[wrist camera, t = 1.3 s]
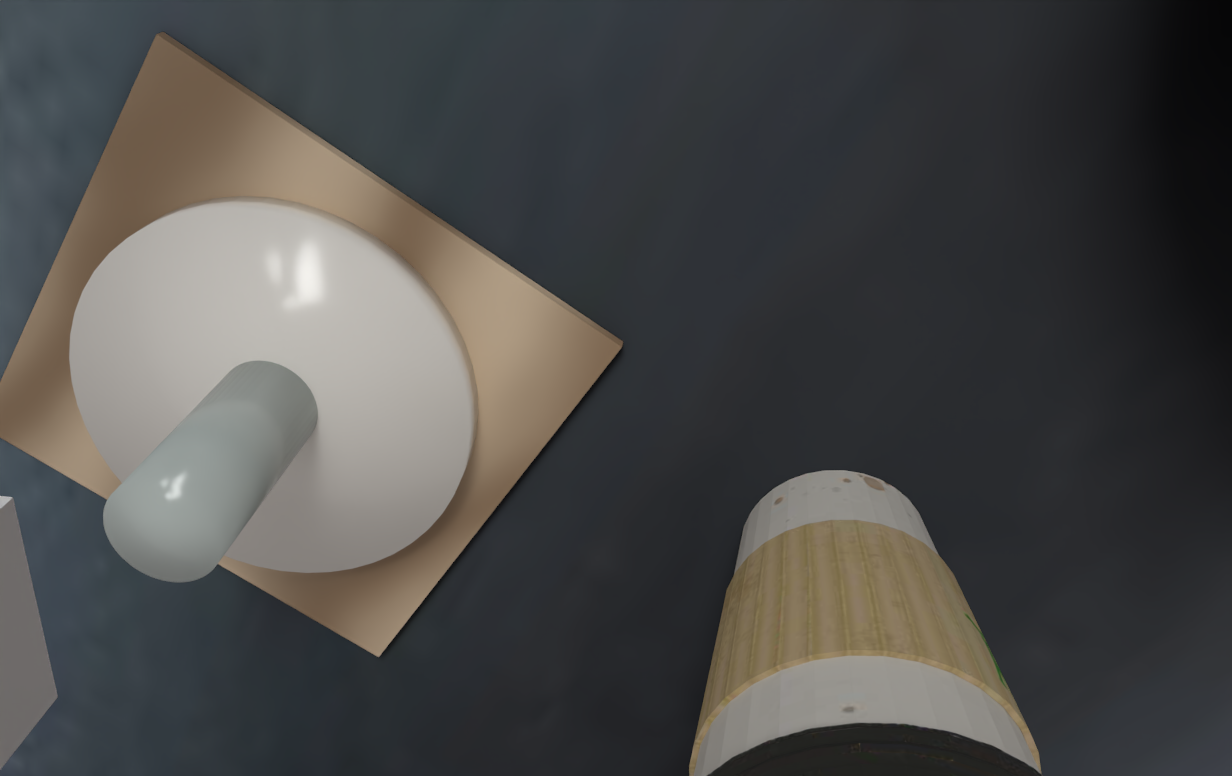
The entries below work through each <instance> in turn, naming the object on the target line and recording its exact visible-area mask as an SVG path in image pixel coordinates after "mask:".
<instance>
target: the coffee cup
mask: <svg viewBox="0 0 1232 776" xmlns="http://www.w3.org/2000/svg"><path fill="white" fill-rule="evenodd" d="M689 773H690V776H1043V775H1042V774H1041V767H1040V760H1039V753H1038V750H1037V747H1036V745H1035V743H1034V741H1033V738H1032V736H1031V734H1030V731H1029V729H1028V727H1027V725H1026V723H1025V721H1024V719H1023V717H1022V715H1021V713H1020V710H1019V708H1018V706H1017V704H1016V702H1015V700H1014V698H1013V696H1012V694H1011V692H1010V690H1009V688H1008V686H1007V684H1006V682H1005V680H1004V678H1003V675H1002V673H1001V671H1000V669H999V667H998V665H997V663H996V661H995V659H994V657H993V655H992V653H991V651H990V649H989V647H988V645H987V643H986V640H985V638H984V636H983V634H982V632H981V630H980V628H979V626H978V624H977V622H976V620H975V618H974V616H973V614H972V612H971V610H970V608H969V606H968V603H967V601H966V599H965V597H964V595H963V593H962V591H961V589H960V587H959V585H958V583H957V581H956V579H955V577H954V575H953V573H952V572H951V570H950V569H949V568H948V566H947V565H946V564H945V562H944V561H943V560H942V558H941V557H940V556H939V555H938V553H937V551H936V549H935V547H934V545H933V542H932V540H931V538H930V536H929V534H928V532H927V530H926V527H925V525H924V523H923V521H922V519H921V517H920V515H919V513H918V511H917V510H916V508H915V507H914V506H913V504H912V503H911V502H910V501H909V499H908V498H907V497H905V496H904V495H903V494H902V493H901V492H900V491H898V490H897V489H896V488H895V487H893V486H891V485H889V484H887V483H886V482H884V481H882V480H880V479H878V478H875V477H872V476H869V475H866V474H863V473H857V472H851V471H845V470H825V471H819V472H813V473H808V474H804V475H801V476H798V477H796V478H793V479H790V480H788V481H786V482H784V483H783V484H781V485H779V486H777V487H776V488H774V489H773V490H771V491H770V492H769V493H768V494H767V495H765V496H764V497H763V498H762V499H761V500H760V501H759V502H758V504H757V505H756V506H755V507H754V509H753V510H752V511H751V513H750V515H749V517H748V519H747V521H746V523H745V525H744V528H743V533H742V538H741V542H740V547H739V552H738V557H737V562H736V567H735V572H734V576H733V578H732V580H731V582H730V584H729V586H728V588H727V592H726V596H725V601H724V606H723V610H722V615H721V620H720V624H719V629H718V634H717V638H716V643H715V648H714V652H713V657H712V662H711V667H710V671H709V676H708V681H707V685H706V690H705V695H704V699H703V704H702V709H701V713H700V718H699V723H698V728H697V732H696V737H695V742H694V746H693V751H692V756H691V760H690V765H689Z"/></svg>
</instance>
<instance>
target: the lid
mask: <svg viewBox="0 0 1232 776" xmlns="http://www.w3.org/2000/svg"><path fill="white" fill-rule="evenodd" d="M69 361H70V371H71V380H72V385H73V389H74V393H75V397H76V402H77V405H78V408H79V411H80V413H81V416H82V419H83V421H84V424H85V426H86V429H87V431H88V433H89V434H90V436H91V438H92V440H93V442H94V444H95V446H96V448H97V450H98V451H99V453H100V454H101V456H102V457H103V459H104V460H105V462H106V463H107V465H108V466H109V468H110V469H111V471H112V472H113V473H114V474H115V475H116V477H117V478H118V479H119V480H120V481H121V483H122V484H121V485H120V486H119V487H118V488H117V489H116V490H115V491H114V492H113V493H112V494H111V495H110V497H109V498H108V500H107V502H106V504H105V507H104V511H103V523H104V528H105V532H106V534H107V537H108V539H109V541H110V543H111V545H112V546H113V547H114V549H115V550H116V552H117V553H118V554H119V555H120V556H121V557H122V558H123V559H124V560H125V561H126V562H127V563H129V564H130V565H131V566H132V567H134V568H135V569H137V570H139V571H140V572H142V573H144V574H146V575H148V576H151V577H153V578H156V579H160V580H163V581H169V582H188V581H193V580H197V579H199V578H202V577H204V576H205V575H207V574H209V573H210V572H211V571H212V570H213V569H214V568H215V567H216V565H217V564H218V563H219V561H220V560H221V559H222V557H223V556H227V557H229V558H231V559H234V560H237V561H241V562H244V563H247V564H251V565H254V566H258V567H263V568H268V569H274V570H279V571H287V572H300V573H320V572H334V571H341V570H347V569H353V568H357V567H360V566H364V565H367V564H371V563H374V562H377V561H379V560H381V559H384V558H386V557H388V556H391V555H393V554H395V553H396V552H398V551H400V550H401V549H403V548H405V547H406V546H408V545H410V544H411V543H413V542H414V541H415V540H416V539H418V538H419V537H420V536H421V535H422V534H424V533H425V532H426V531H427V530H428V529H429V528H430V527H431V526H432V525H433V524H434V523H435V521H436V520H437V519H438V518H439V517H440V516H441V515H442V514H443V512H444V510H445V509H446V507H447V506H448V504H449V503H450V501H451V499H452V498H453V496H454V494H455V492H456V490H457V488H458V485H459V483H460V481H461V479H462V476H463V474H464V472H465V469H466V467H467V465H468V463H469V460H470V458H471V455H472V451H473V447H474V443H475V439H476V435H477V425H478V415H479V409H478V390H477V384H476V379H475V374H474V369H473V365H472V362H471V359H470V356H469V353H468V350H467V347H466V344H465V341H464V339H463V337H462V335H461V333H460V331H459V329H458V327H457V325H456V323H455V321H454V319H453V317H452V316H451V314H450V313H449V311H448V309H447V308H446V306H445V305H444V303H443V302H442V300H441V299H440V297H439V296H438V294H437V293H436V292H435V291H434V290H433V289H432V287H431V286H430V285H429V284H428V283H427V281H426V280H425V279H424V278H423V277H422V275H421V274H420V273H419V272H418V271H417V270H416V269H415V268H413V267H412V266H411V265H410V264H409V263H408V262H407V261H406V260H405V259H404V258H403V257H402V256H401V255H400V254H398V253H397V252H396V251H394V250H393V249H392V248H390V247H389V246H388V245H386V244H385V243H384V242H382V241H381V240H380V239H378V238H377V237H376V236H374V235H372V234H370V233H369V232H367V231H365V230H364V229H362V228H360V227H358V226H357V225H355V224H353V223H352V222H350V221H347V220H345V219H343V218H340V217H338V216H336V215H334V214H331V213H329V212H327V211H324V210H321V209H318V208H315V207H311V206H308V205H305V204H302V203H298V202H294V201H288V200H283V199H277V198H271V197H256V196H234V197H222V198H213V199H209V200H205V201H201V202H196V203H192V204H189V205H186V206H184V207H181V208H179V209H176V210H174V211H171V212H169V213H166V214H165V215H163V216H161V217H160V218H158V219H156V220H155V221H153V222H151V223H150V224H148V225H146V226H145V227H143V228H142V229H140V230H139V231H137V232H136V233H134V234H132V235H131V236H129V237H128V238H126V239H125V240H124V241H123V242H122V243H121V244H119V245H118V246H117V247H116V248H115V249H114V250H112V251H111V252H110V253H109V254H108V255H107V256H106V257H105V259H104V260H103V261H102V262H101V263H100V265H99V266H98V267H97V268H96V269H95V271H94V272H93V274H92V276H91V277H90V279H89V281H88V282H87V284H86V286H85V288H84V289H83V291H82V294H81V296H80V299H79V302H78V304H77V307H76V310H75V313H74V318H73V323H72V328H71V333H70V350H69Z"/></svg>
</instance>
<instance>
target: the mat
mask: <svg viewBox="0 0 1232 776" xmlns="http://www.w3.org/2000/svg"><path fill="white" fill-rule="evenodd" d="M234 196H256V197H271V198H277V199H283V200H288V201H294V202H298V203H302V204H305V205H308V206H311V207H315V208H318V209H321V210H324V211H327V212H329V213H331V214H334V215H336V216H338V217H340V218H343V219H345V220H347V221H350V222H352V223H353V224H355V225H357V226H358V227H360V228H362V229H364V230H365V231H367V232H369V233H370V234H372V235H374V236H376V237H377V238H378V239H380V240H381V241H382V242H384V243H385V244H386V245H388V246H389V247H390V248H392V249H393V250H394V251H396V252H397V253H398V254H400V255H401V256H402V257H403V258H404V259H405V260H406V261H407V262H408V263H409V264H410V265H411V266H412V267H413V268H415V269H416V270H417V271H418V272H419V273H420V274H421V275H422V277H423V278H424V279H425V280H426V281H427V283H428V284H429V285H430V286H431V287H432V289H433V290H434V291H435V292H436V293H437V294H438V296H439V297H440V299H441V300H442V302H443V303H444V305H445V306H446V308H447V309H448V311H449V313H450V314H451V316H452V317H453V319H454V321H455V323H456V325H457V327H458V329H459V331H460V333H461V335H462V337H463V339H464V341H465V344H466V347H467V350H468V353H469V356H470V359H471V362H472V365H473V369H474V374H475V379H476V384H477V390H478V409H479V415H478V425H477V435H476V439H475V443H474V447H473V451H472V455H471V458H470V460H469V463H468V465H467V467H466V469H465V472H464V474H463V476H462V479H461V481H460V483H459V485H458V488H457V490H456V492H455V494H454V496H453V498H452V499H451V501H450V503H449V504H448V506H447V507H446V509H445V510H444V512H443V514H442V515H441V516H440V517H439V518H438V519H437V520H436V521H435V523H434V524H433V525H432V526H431V527H430V528H429V529H428V530H427V531H426V532H425V533H424V534H422V535H421V536H420V537H419V538H418V539H416V540H415V541H414V542H413V543H411V544H410V545H408V546H406V547H405V548H403V549H401V550H400V551H398V552H396V553H395V554H393V555H391V556H388V557H386V558H384V559H381V560H379V561H377V562H374V563H371V564H367V565H364V566H360V567H357V568H353V569H347V570H341V571H334V572H320V573H300V572H287V571H279V570H274V569H268V568H263V567H258V566H254V565H251V564H247V563H244V562H241V561H237V560H234V559H231V558H229V557H227V556H223V557H222V559H221V560H220V561H219V563H218V564H219V565H221V566H222V567H224V568H226V569H227V570H229V571H231V572H233V573H234V574H236V575H238V576H240V577H241V578H243V579H245V580H246V581H248V582H250V583H252V584H253V585H255V586H257V587H258V588H260V589H262V590H264V591H265V592H267V593H269V594H271V595H272V596H274V597H276V598H277V599H279V600H281V601H283V602H284V603H286V604H288V605H289V606H291V607H293V608H295V609H296V610H298V611H300V612H302V613H303V614H305V615H307V616H308V617H310V618H312V619H314V620H315V621H317V622H319V623H320V624H322V625H324V626H326V627H327V628H329V629H331V630H333V631H334V632H336V633H338V634H339V635H341V636H343V637H345V638H346V639H348V640H350V641H352V642H353V643H355V644H357V645H358V646H360V647H362V648H364V649H365V650H367V651H369V652H370V653H372V654H374V655H376V656H377V657H379V656H380V655H381V654H382V652H383V651H384V650H385V649H386V647H387V646H388V645H389V643H390V642H391V641H392V640H393V638H394V637H395V636H396V635H397V633H398V632H399V631H400V629H401V628H402V627H403V626H404V624H405V623H406V622H407V621H408V619H409V618H410V617H411V615H412V614H413V613H414V612H415V610H416V609H417V608H418V607H419V605H420V604H421V603H422V601H423V600H424V599H425V598H426V596H427V595H428V594H429V592H430V591H431V590H432V589H433V587H434V586H435V585H436V584H437V582H438V581H439V580H440V578H441V577H442V576H443V575H444V573H445V572H446V571H447V570H448V568H449V567H450V566H451V564H452V563H453V562H454V561H455V559H456V558H457V557H458V556H459V554H460V553H461V552H462V550H463V549H464V548H465V547H466V545H467V544H468V543H469V541H470V540H471V539H472V538H473V536H474V535H475V534H476V533H477V531H478V530H479V529H480V527H481V526H482V525H483V524H484V522H485V521H486V520H487V519H488V517H489V516H490V515H491V513H492V512H493V511H494V510H495V508H496V507H497V506H498V505H499V503H500V502H501V501H502V499H503V498H504V497H505V496H506V494H507V493H508V492H509V491H510V489H511V488H512V487H513V485H514V484H515V483H516V482H517V480H518V479H519V478H520V476H521V475H522V474H523V473H524V471H525V470H526V469H527V468H528V466H529V465H530V464H531V462H532V461H533V460H534V459H535V457H536V456H537V455H538V454H539V452H540V451H541V450H542V448H543V447H544V446H545V445H546V443H547V442H548V441H549V440H550V438H551V437H552V436H553V434H554V433H555V432H556V431H557V429H558V428H559V427H560V425H561V424H562V423H563V422H564V420H565V419H566V418H567V417H568V415H569V414H570V413H571V411H572V410H573V409H574V408H575V406H576V405H577V404H578V403H579V401H580V400H581V399H582V397H583V396H584V395H585V394H586V392H587V391H588V390H589V389H590V387H591V386H592V385H593V383H594V382H595V381H596V380H597V378H598V377H599V376H600V375H601V373H602V372H603V371H604V369H605V368H606V367H607V366H608V364H609V363H610V362H611V360H612V359H613V358H614V357H615V355H616V354H617V353H618V352H619V350H620V349H621V348H622V345H623V341H621V340H620V339H618V338H617V337H615V336H614V335H612V334H611V333H609V332H608V331H606V330H605V329H603V328H602V327H601V326H599V325H598V324H596V323H595V322H593V321H592V320H590V319H589V318H587V317H586V316H584V315H583V314H581V313H580V312H578V311H577V310H575V309H574V308H572V307H571V306H569V305H568V304H566V303H565V302H563V301H562V300H560V299H559V298H557V297H556V296H555V295H553V294H552V293H550V292H549V291H547V290H546V289H544V288H543V287H541V286H540V285H538V284H537V283H535V282H534V281H532V280H531V279H529V278H528V277H526V276H525V275H523V274H522V273H520V272H519V271H517V270H516V269H514V268H513V267H511V266H510V265H509V264H507V263H506V262H504V261H503V260H501V259H500V258H498V257H497V256H495V255H494V254H492V253H491V252H489V251H488V250H486V249H485V248H483V247H482V246H480V245H479V244H477V243H476V242H474V241H473V240H471V239H470V238H468V237H467V236H465V235H464V234H463V233H461V232H460V231H458V230H457V229H455V228H454V227H452V226H451V225H449V224H448V223H446V222H445V221H443V220H442V219H440V218H439V217H437V216H436V215H434V214H433V213H431V212H430V211H428V210H427V209H425V208H424V207H422V206H421V205H420V204H418V203H417V202H415V201H414V200H412V199H411V198H409V197H408V196H406V195H405V194H403V193H402V192H400V191H399V190H397V189H396V188H394V187H393V186H391V185H390V184H388V183H387V182H385V181H384V180H382V179H381V178H379V177H378V176H376V175H375V174H374V173H372V172H371V171H369V170H368V169H366V168H365V167H363V166H362V165H360V164H359V163H357V162H356V161H354V160H353V159H351V158H350V157H348V156H347V155H345V154H344V153H342V152H341V151H339V150H338V149H336V148H335V147H333V146H332V145H330V144H329V143H328V142H326V141H325V140H323V139H322V138H320V137H319V136H317V135H316V134H314V133H313V132H311V131H310V130H308V129H307V128H305V127H304V126H302V125H301V124H299V123H298V122H296V121H295V120H293V119H292V118H290V117H289V116H287V115H286V114H284V113H283V112H282V111H280V110H279V109H277V108H276V107H274V106H273V105H271V104H270V103H268V102H267V101H265V100H264V99H262V98H261V97H259V96H258V95H256V94H255V93H253V92H252V91H250V90H249V89H247V88H246V87H244V86H243V85H241V84H240V83H238V82H237V81H236V80H234V79H233V78H231V77H230V76H228V75H227V74H225V73H224V72H222V71H221V70H219V69H218V68H216V67H215V66H213V65H212V64H210V63H209V62H207V61H206V60H204V59H203V58H201V57H200V56H198V55H197V54H195V53H194V52H192V51H191V50H190V49H188V48H187V47H185V46H184V45H182V44H181V43H179V42H178V41H176V40H175V39H173V38H172V37H170V36H169V35H167V34H166V33H164V32H161V33H158V34H156V36H155V38H154V41H153V43H152V45H151V47H150V50H149V52H148V54H147V56H146V59H145V61H144V63H143V65H142V67H141V70H140V72H139V74H138V76H137V79H136V81H135V83H134V85H133V87H132V90H131V92H130V94H129V96H128V99H127V101H126V103H125V105H124V107H123V110H122V112H121V114H120V116H119V119H118V121H117V123H116V125H115V128H114V130H113V132H112V134H111V136H110V139H109V141H108V143H107V145H106V148H105V150H104V152H103V154H102V156H101V159H100V161H99V163H98V165H97V168H96V170H95V172H94V174H93V177H92V179H91V181H90V183H89V185H88V188H87V190H86V192H85V194H84V197H83V199H82V201H81V203H80V205H79V208H78V210H77V212H76V214H75V217H74V219H73V221H72V223H71V225H70V228H69V230H68V232H67V234H66V237H65V239H64V241H63V243H62V246H61V248H60V250H59V252H58V254H57V257H56V259H55V261H54V263H53V266H52V268H51V270H50V272H49V274H48V277H47V279H46V281H45V283H44V286H43V288H42V290H41V292H40V295H39V297H38V299H37V301H36V303H35V306H34V308H33V310H32V312H31V315H30V317H29V319H28V321H27V323H26V326H25V328H24V330H23V332H22V335H21V337H20V339H19V341H18V343H17V346H16V348H15V350H14V352H13V355H12V357H11V359H10V361H9V364H8V366H7V368H6V370H5V372H4V375H3V377H2V379H1V381H0V438H2V439H3V440H5V441H7V442H9V443H10V444H12V445H14V446H16V447H17V448H19V449H21V450H22V451H24V452H26V453H28V454H29V455H31V456H33V457H35V458H36V459H38V460H40V461H41V462H43V463H45V464H47V465H48V466H50V467H52V468H53V469H55V470H57V471H59V472H60V473H62V474H64V475H66V476H67V477H69V478H71V479H72V480H74V481H76V482H78V483H79V484H81V485H83V486H84V487H86V488H88V489H90V490H91V491H93V492H95V493H97V494H98V495H100V496H102V497H103V498H105V499H107V500H108V498H109V497H110V495H111V494H112V493H113V492H114V491H115V490H116V489H117V488H118V487H119V486H120V485H121V484H122V483H121V481H120V480H119V479H118V478H117V477H116V475H115V474H114V473H113V472H112V471H111V469H110V468H109V466H108V465H107V463H106V462H105V460H104V459H103V457H102V456H101V454H100V453H99V451H98V450H97V448H96V446H95V444H94V442H93V440H92V438H91V436H90V434H89V433H88V431H87V429H86V426H85V424H84V421H83V419H82V416H81V413H80V411H79V408H78V405H77V402H76V397H75V393H74V389H73V385H72V380H71V371H70V361H69V350H70V333H71V328H72V323H73V318H74V313H75V310H76V307H77V304H78V302H79V299H80V296H81V294H82V291H83V289H84V288H85V286H86V284H87V282H88V281H89V279H90V277H91V276H92V274H93V272H94V271H95V269H96V268H97V267H98V266H99V265H100V263H101V262H102V261H103V260H104V259H105V257H106V256H107V255H108V254H109V253H110V252H111V251H112V250H114V249H115V248H116V247H117V246H118V245H119V244H121V243H122V242H123V241H124V240H125V239H126V238H128V237H129V236H131V235H132V234H134V233H136V232H137V231H139V230H140V229H142V228H143V227H145V226H146V225H148V224H150V223H151V222H153V221H155V220H156V219H158V218H160V217H161V216H163V215H165V214H166V213H169V212H171V211H174V210H176V209H179V208H181V207H184V206H186V205H189V204H192V203H196V202H201V201H205V200H209V199H213V198H222V197H234Z"/></svg>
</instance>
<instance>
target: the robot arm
mask: <svg viewBox="0 0 1232 776" xmlns="http://www.w3.org/2000/svg"><path fill="white" fill-rule="evenodd" d="M57 697H58V696H57V691H56V687H55V682H54V678H53V673H52V669H51V665H50V660H49V656H48V651H47V647H46V642H45V638H44V633H43V629H42V625H41V620H40V616H39V611H38V607H37V602H36V598H35V593H34V589H33V585H32V580H31V576H30V571H29V567H28V562H27V558H26V553H25V549H24V545H23V540H22V536H21V531H20V527H19V522H18V518H17V513H16V509H15V505H14V500H13V497H5V496H0V769H1V768H2V767H3V766H4V764H5V763H6V762H7V761H8V759H9V758H10V757H11V755H12V754H13V753H14V752H15V750H16V749H17V748H18V747H19V745H20V744H21V743H22V742H23V740H24V739H25V738H26V736H27V735H28V734H29V733H30V731H31V730H32V729H33V728H34V726H35V725H36V724H37V723H38V721H39V720H40V719H41V717H42V716H43V715H44V714H45V712H46V711H47V710H48V709H49V707H50V706H51V705H52V704H53V702H54V701H55V700H56V699H57Z"/></svg>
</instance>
